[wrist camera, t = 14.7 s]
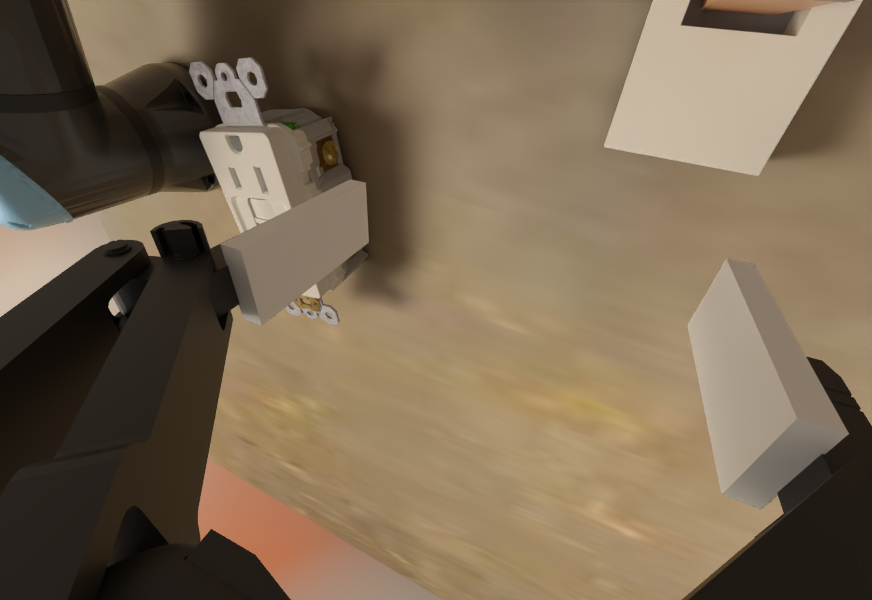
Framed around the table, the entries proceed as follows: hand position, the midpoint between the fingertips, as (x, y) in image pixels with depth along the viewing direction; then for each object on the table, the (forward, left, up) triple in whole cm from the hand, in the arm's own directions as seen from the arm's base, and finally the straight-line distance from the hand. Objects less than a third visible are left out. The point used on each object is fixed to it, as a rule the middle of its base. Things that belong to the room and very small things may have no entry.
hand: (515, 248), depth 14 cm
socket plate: (+7, +8, -23) cm, 25 cm away
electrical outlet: (-28, -12, -23) cm, 38 cm away
